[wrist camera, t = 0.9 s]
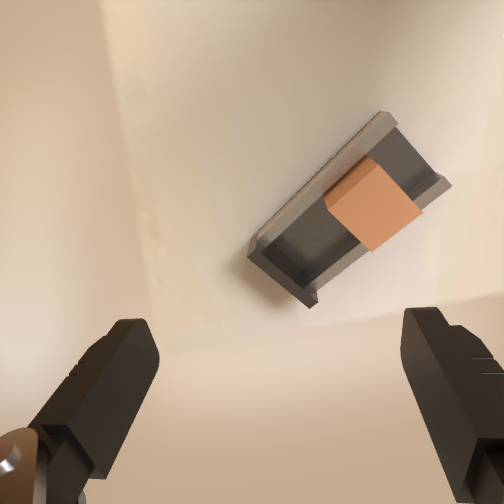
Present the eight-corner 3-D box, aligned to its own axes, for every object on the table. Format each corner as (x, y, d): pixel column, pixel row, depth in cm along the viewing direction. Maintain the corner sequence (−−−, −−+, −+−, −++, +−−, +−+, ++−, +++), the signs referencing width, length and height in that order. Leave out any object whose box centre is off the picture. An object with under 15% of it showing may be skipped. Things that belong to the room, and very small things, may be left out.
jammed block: (363, 153, 27) (378, 164, 23) (401, 194, 28) (422, 212, 24) (321, 192, 29) (327, 210, 25) (359, 229, 30) (371, 252, 26)
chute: (380, 110, 26) (397, 113, 22) (439, 178, 28) (464, 192, 24) (251, 237, 33) (246, 256, 29) (306, 284, 35) (309, 308, 31)
